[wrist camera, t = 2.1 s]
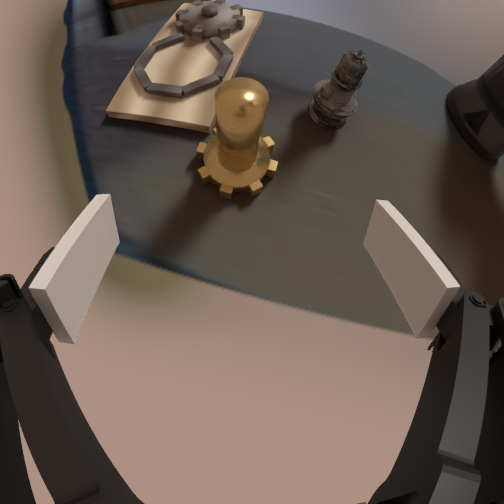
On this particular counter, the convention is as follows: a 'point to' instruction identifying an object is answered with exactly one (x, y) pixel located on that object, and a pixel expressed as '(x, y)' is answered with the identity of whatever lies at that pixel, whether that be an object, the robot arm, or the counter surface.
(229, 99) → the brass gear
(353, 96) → the stone chess piece
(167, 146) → the counter surface
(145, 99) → the gear board
